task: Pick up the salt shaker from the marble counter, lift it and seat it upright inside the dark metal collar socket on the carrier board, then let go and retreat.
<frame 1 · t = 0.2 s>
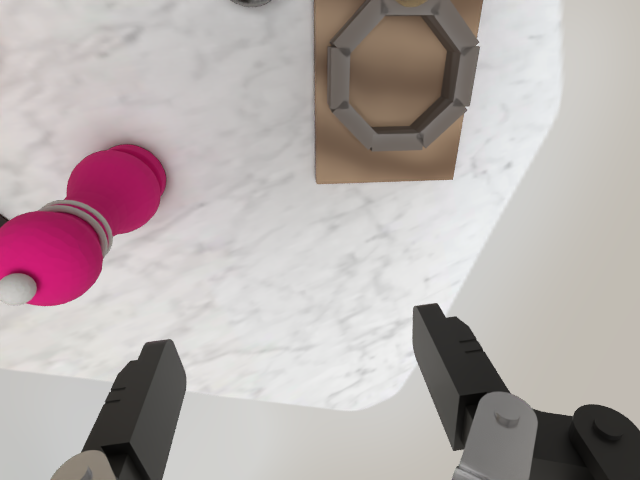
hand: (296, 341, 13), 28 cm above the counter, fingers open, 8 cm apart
carrier board: (390, 73, 36), on the counter
pepper mill: (134, 174, 38), on the counter
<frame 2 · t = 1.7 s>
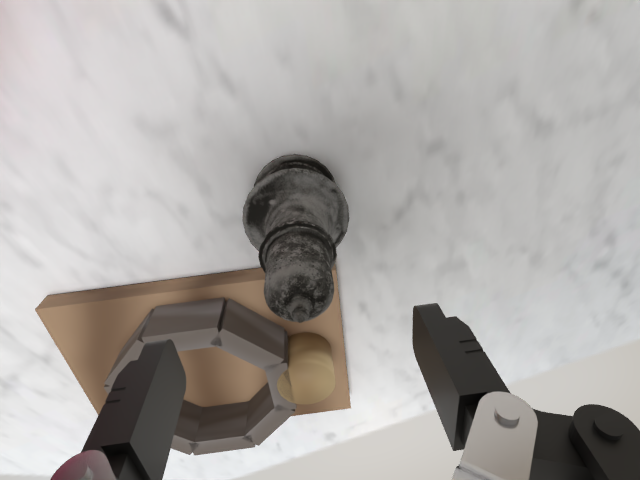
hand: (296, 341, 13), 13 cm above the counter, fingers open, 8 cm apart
carrier board: (215, 350, 30), on the counter
salt shaker: (295, 194, 25), on the counter
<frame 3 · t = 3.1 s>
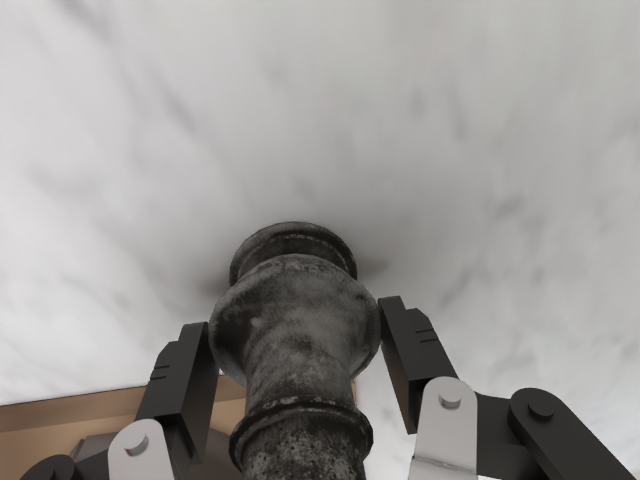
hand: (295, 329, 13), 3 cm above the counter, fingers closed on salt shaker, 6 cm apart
carrier board: (182, 470, 22), on the counter
salt shaker: (293, 275, 16), on the counter, touching gripper
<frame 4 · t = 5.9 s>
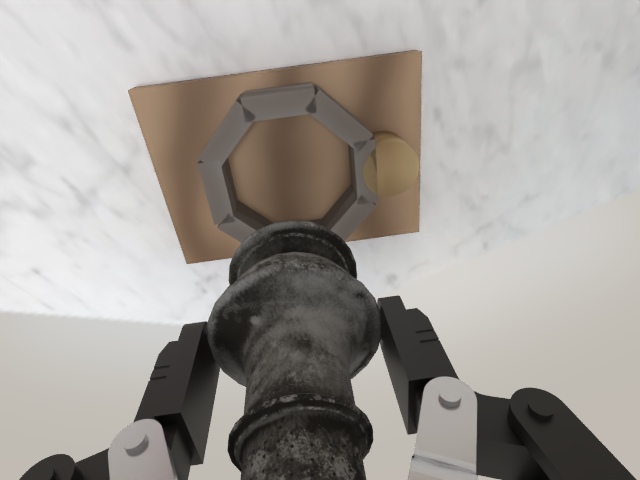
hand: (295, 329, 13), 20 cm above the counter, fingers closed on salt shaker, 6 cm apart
carrier board: (290, 163, 31), on the counter
salt shaker: (293, 274, 16), point 16 cm above the counter, touching gripper
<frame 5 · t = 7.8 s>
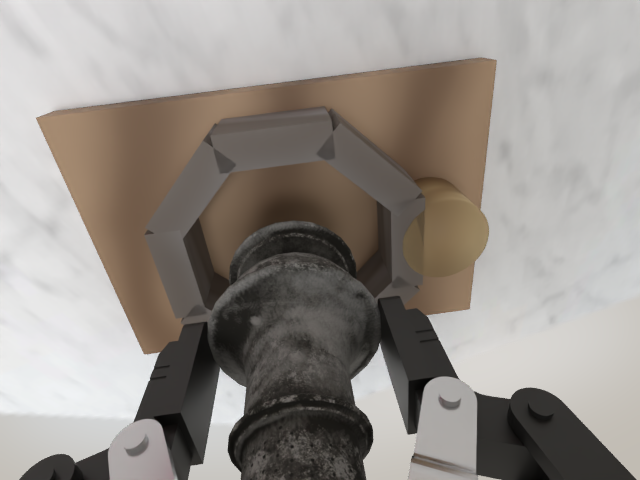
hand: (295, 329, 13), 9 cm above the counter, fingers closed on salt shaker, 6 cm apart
carrier board: (291, 218, 21), on the counter
salt shaker: (293, 274, 16), point 6 cm above the counter, touching gripper
when the fingers open (6 cm above the counter, at t = 9.0 s): salt shaker drops 1 cm, resting on carrier board.
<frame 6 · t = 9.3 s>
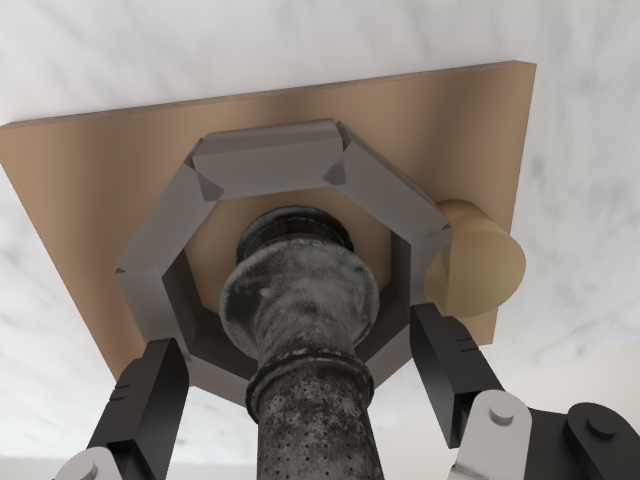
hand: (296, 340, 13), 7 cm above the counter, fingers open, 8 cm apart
carrier board: (291, 244, 19), on the counter
salt shaker: (295, 257, 17), point 1 cm above the counter, touching carrier board
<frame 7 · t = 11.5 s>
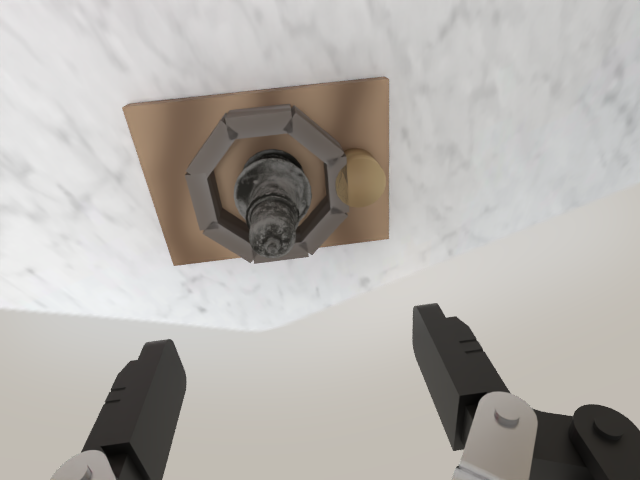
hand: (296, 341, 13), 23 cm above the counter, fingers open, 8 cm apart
carrier board: (271, 175, 34), on the counter
salt shaker: (273, 179, 32), point 1 cm above the counter, touching carrier board
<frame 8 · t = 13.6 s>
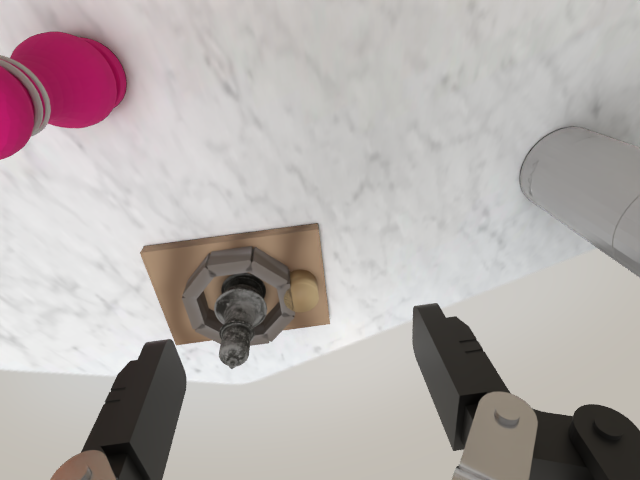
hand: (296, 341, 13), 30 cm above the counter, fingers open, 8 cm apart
carrier board: (243, 283, 48), on the counter
pepper mill: (91, 75, 35), on the counter
salt shaker: (243, 289, 47), point 1 cm above the counter, touching carrier board
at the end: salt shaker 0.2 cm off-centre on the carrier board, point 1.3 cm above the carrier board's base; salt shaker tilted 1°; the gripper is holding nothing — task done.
